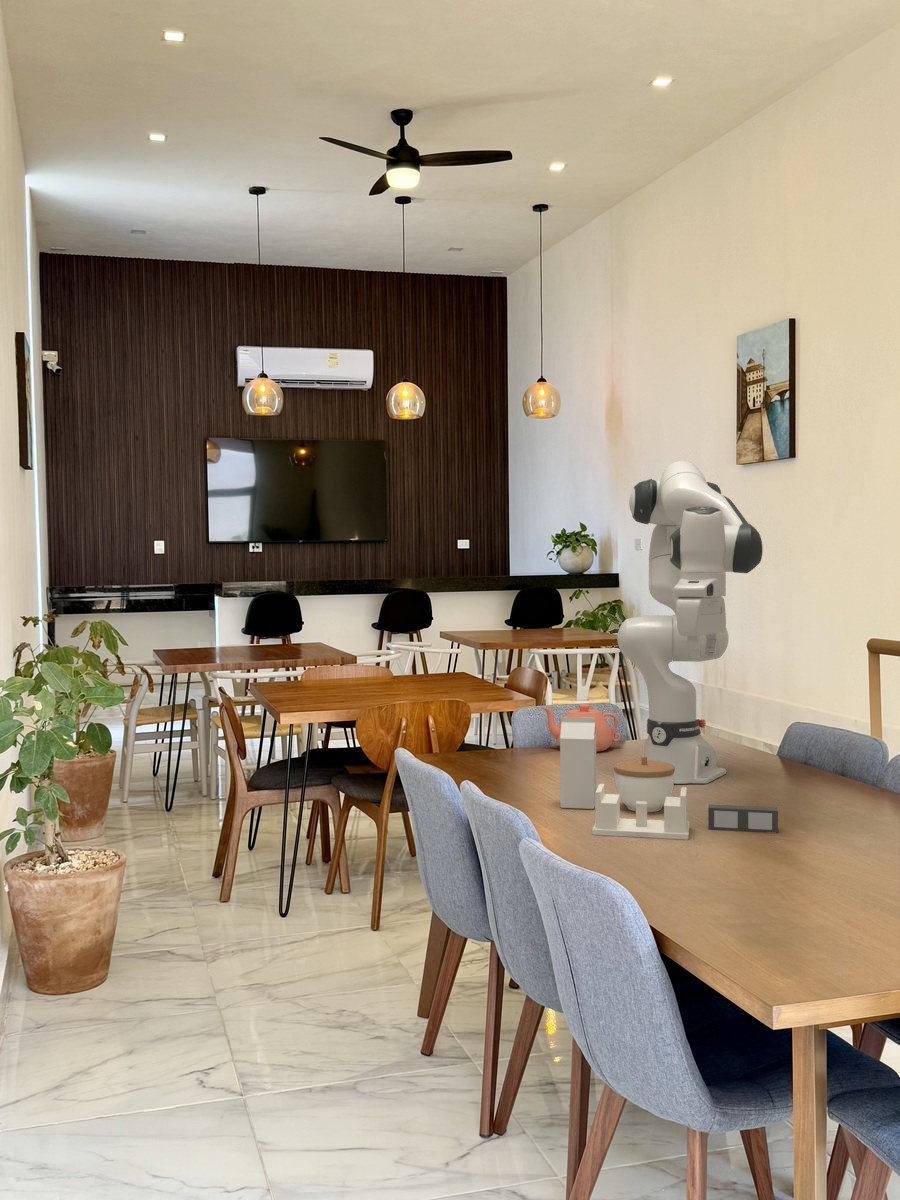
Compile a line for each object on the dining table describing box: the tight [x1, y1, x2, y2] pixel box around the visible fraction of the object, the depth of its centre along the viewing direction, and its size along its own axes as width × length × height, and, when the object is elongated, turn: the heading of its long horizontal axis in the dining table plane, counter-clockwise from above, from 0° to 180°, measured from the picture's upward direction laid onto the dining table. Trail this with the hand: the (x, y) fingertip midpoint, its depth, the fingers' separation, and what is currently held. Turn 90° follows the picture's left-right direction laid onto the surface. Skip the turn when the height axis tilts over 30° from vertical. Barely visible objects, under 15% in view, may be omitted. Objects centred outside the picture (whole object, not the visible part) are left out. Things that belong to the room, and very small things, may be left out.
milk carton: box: [559, 716, 597, 810], centre depth 232 cm, size 7×7×19 cm
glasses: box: [707, 803, 779, 834], centre depth 211 cm, size 13×3×4 cm, turn 76°
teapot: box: [540, 703, 622, 753], centre depth 299 cm, size 22×16×12 cm
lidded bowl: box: [613, 755, 675, 813], centre depth 229 cm, size 13×13×11 cm
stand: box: [591, 783, 691, 841], centre depth 211 cm, size 18×10×8 cm, turn 76°
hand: (703, 657), depth 216 cm, fingers open, 8 cm apart
